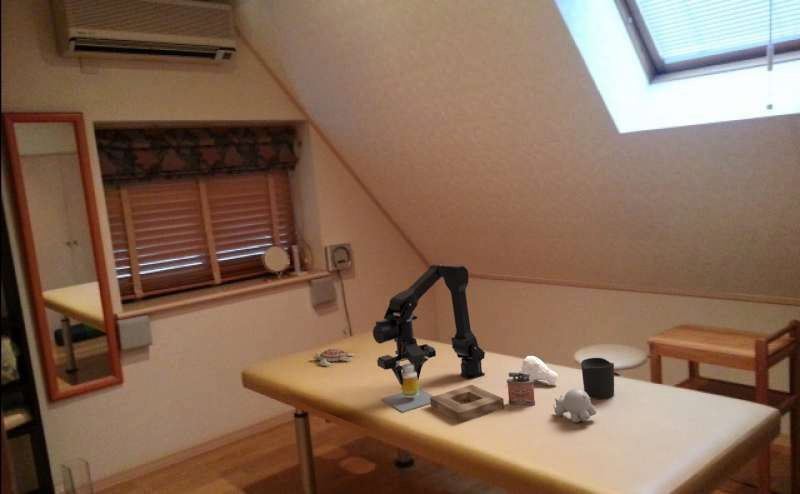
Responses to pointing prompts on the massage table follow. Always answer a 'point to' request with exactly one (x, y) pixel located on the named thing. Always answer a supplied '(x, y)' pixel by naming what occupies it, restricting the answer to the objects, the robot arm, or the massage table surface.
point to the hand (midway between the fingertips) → (409, 382)
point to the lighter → (520, 389)
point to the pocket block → (477, 407)
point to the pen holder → (598, 377)
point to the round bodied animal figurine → (575, 405)
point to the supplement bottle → (409, 381)
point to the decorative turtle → (332, 356)
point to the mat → (408, 401)
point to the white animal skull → (538, 370)
